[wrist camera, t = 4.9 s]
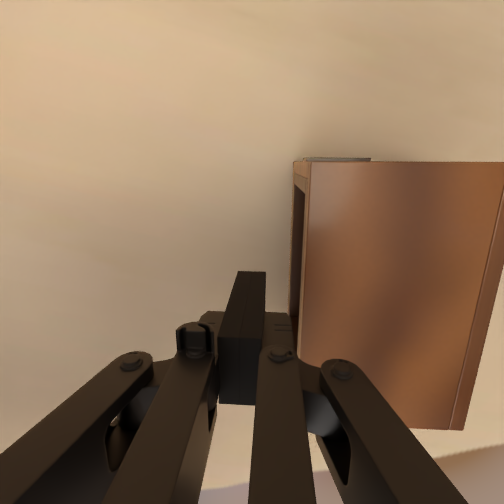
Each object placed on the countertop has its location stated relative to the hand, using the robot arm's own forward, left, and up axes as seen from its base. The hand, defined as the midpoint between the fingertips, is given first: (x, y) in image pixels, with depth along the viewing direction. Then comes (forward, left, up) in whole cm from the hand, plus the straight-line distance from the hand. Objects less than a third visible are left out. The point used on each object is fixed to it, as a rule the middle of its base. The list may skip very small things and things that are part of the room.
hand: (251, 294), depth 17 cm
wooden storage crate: (+7, 0, -10) cm, 12 cm away
